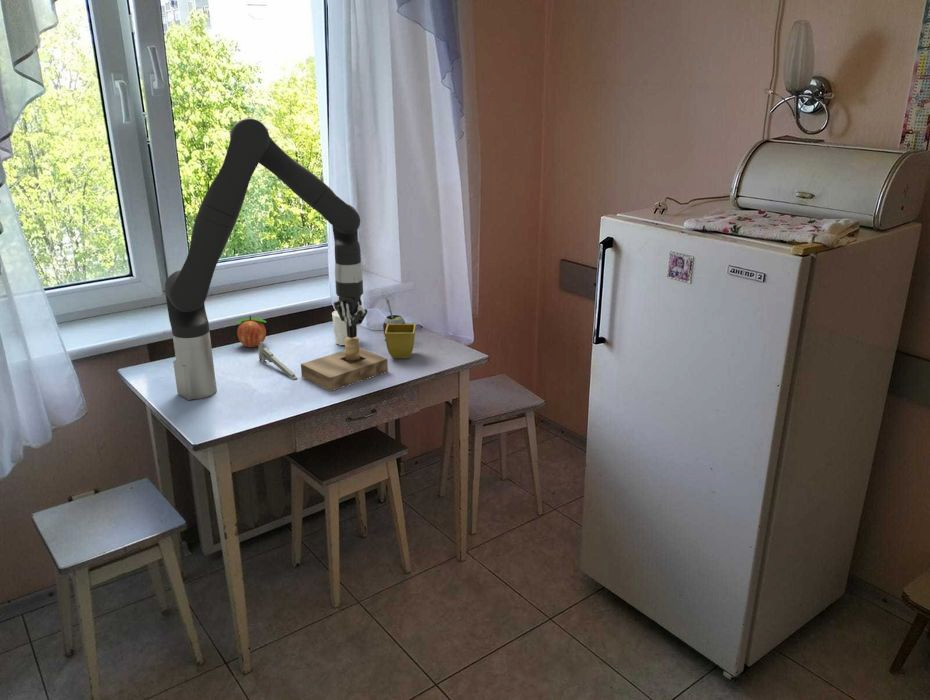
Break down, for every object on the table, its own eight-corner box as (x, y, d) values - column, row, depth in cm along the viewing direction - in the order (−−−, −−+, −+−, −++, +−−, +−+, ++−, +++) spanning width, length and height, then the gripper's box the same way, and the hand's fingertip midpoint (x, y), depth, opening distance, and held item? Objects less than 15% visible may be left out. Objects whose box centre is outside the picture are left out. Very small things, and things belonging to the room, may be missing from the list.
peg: (351, 375, 215) (350, 342, 212) (343, 371, 218) (341, 338, 215) (363, 371, 218) (361, 339, 215) (354, 367, 221) (353, 335, 217)
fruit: (263, 350, 233) (261, 320, 229) (233, 350, 233) (229, 319, 230) (271, 341, 241) (268, 311, 238) (241, 340, 241) (238, 311, 238)
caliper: (259, 360, 226) (257, 341, 224) (262, 359, 227) (260, 340, 224) (294, 381, 212) (292, 360, 210) (297, 380, 213) (296, 359, 210)
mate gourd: (404, 344, 239) (403, 299, 234) (379, 344, 239) (377, 299, 234) (407, 336, 246) (406, 292, 240) (383, 336, 246) (381, 292, 241)
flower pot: (388, 350, 234) (387, 323, 231) (416, 350, 234) (415, 323, 231) (385, 361, 226) (384, 333, 223) (414, 361, 226) (414, 333, 223)
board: (330, 391, 205) (329, 377, 203) (301, 376, 214) (300, 363, 213) (387, 371, 218) (387, 358, 217) (358, 358, 227) (357, 346, 226)
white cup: (334, 338, 244) (332, 309, 240) (359, 338, 245) (357, 308, 241) (333, 347, 236) (331, 317, 233) (358, 346, 237) (357, 316, 234)
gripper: (323, 276, 210) (327, 334, 216) (352, 285, 201) (355, 346, 207) (345, 271, 215) (348, 328, 221) (374, 280, 206) (377, 339, 212)
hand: (352, 336), depth 214 cm, fingers closed
